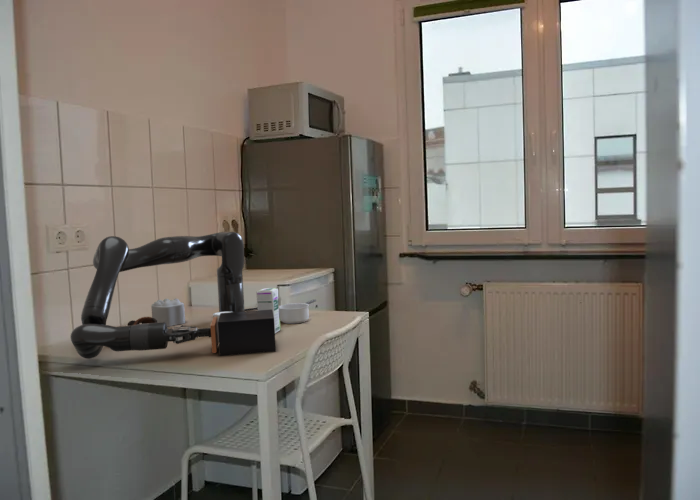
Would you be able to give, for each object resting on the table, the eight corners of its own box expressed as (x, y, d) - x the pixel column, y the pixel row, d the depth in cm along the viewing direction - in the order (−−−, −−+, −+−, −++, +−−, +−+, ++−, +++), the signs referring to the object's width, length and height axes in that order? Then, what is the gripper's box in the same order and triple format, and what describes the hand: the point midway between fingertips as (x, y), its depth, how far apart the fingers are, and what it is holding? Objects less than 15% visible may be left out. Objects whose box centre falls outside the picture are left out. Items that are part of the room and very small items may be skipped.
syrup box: (275, 334, 183) (273, 290, 182) (258, 334, 184) (256, 290, 183) (280, 330, 188) (278, 287, 187) (264, 330, 190) (262, 287, 189)
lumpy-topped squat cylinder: (162, 327, 200) (160, 303, 200) (146, 323, 210) (145, 300, 209) (188, 322, 207) (187, 299, 207) (172, 318, 217) (171, 296, 216)
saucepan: (328, 314, 212) (327, 300, 211) (298, 325, 195) (297, 309, 194) (303, 312, 218) (302, 298, 217) (271, 323, 200) (271, 307, 200)
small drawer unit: (219, 356, 158) (217, 322, 158) (222, 344, 172) (220, 313, 171) (275, 351, 161) (274, 318, 160) (273, 340, 175) (272, 309, 174)
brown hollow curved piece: (167, 336, 188) (165, 318, 183) (151, 355, 180) (149, 336, 176) (136, 327, 190) (133, 308, 185) (119, 345, 182) (115, 326, 178)
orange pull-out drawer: (207, 353, 158) (206, 325, 158) (211, 342, 171) (209, 317, 170) (264, 348, 161) (262, 321, 160) (263, 338, 173) (261, 313, 173)
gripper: (143, 328, 151) (209, 323, 154) (152, 318, 164) (212, 314, 167) (145, 355, 152) (210, 350, 155) (154, 343, 165) (214, 339, 168)
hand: (211, 331), depth 161 cm, fingers closed
